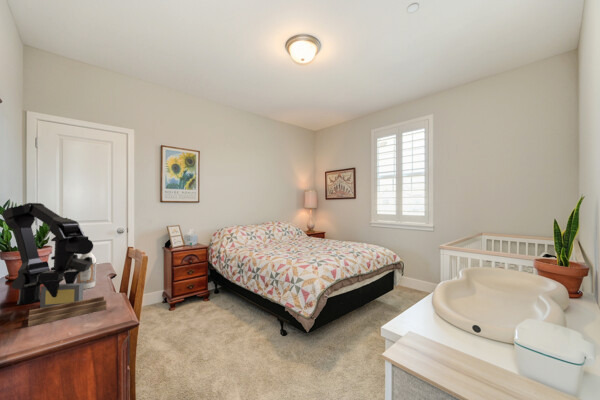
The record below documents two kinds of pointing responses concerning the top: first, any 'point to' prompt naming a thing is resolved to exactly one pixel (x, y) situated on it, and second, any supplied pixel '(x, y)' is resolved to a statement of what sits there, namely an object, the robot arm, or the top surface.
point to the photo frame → (62, 295)
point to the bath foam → (88, 273)
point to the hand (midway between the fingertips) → (62, 293)
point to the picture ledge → (65, 310)
